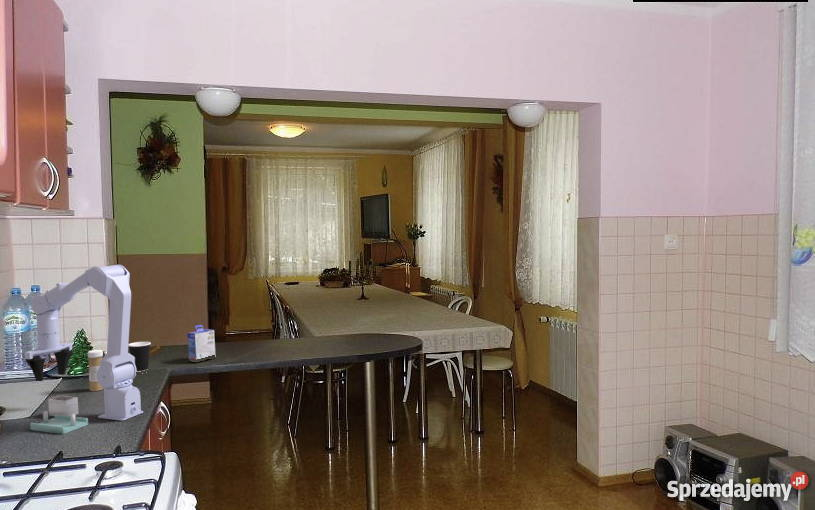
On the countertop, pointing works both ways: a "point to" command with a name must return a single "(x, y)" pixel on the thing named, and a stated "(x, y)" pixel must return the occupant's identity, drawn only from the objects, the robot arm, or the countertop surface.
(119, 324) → the robot arm
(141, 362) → the dixie cup
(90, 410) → the countertop surface
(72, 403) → the drive block
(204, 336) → the ink cartridge box
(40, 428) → the teal base with pegs
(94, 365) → the sprinkles bottle
